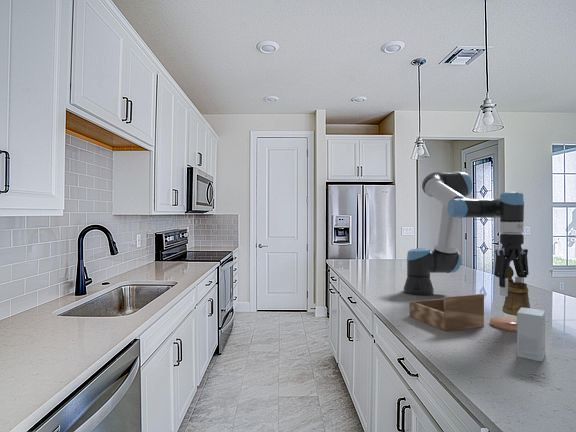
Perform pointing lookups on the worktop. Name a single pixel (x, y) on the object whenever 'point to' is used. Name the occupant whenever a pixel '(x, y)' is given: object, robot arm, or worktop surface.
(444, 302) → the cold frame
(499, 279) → the robot arm
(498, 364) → the worktop surface
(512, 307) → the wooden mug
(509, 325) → the peach round disc
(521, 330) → the small box
